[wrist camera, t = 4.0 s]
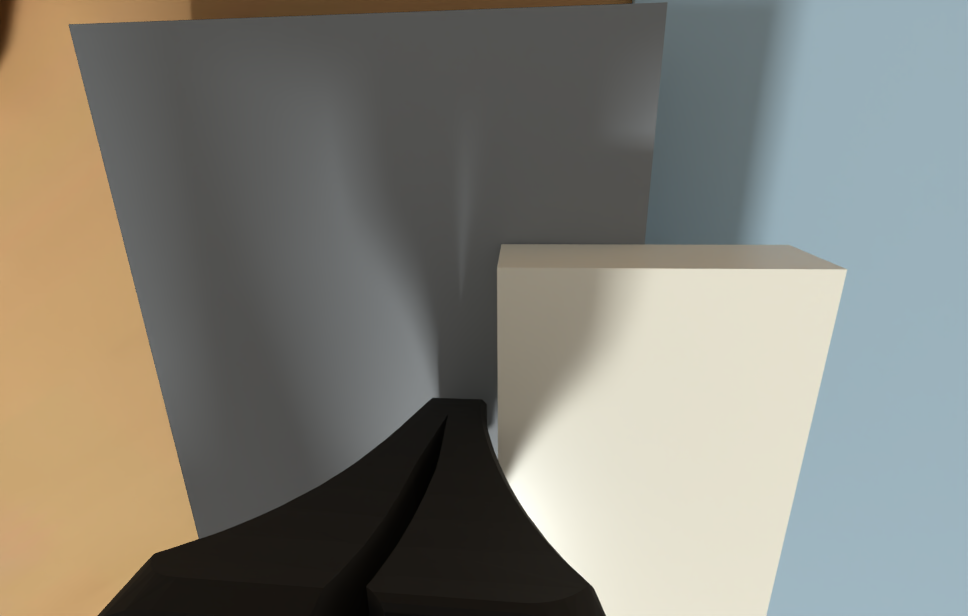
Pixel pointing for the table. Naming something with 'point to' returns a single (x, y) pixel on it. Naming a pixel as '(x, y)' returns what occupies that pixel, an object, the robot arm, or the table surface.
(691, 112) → the mat
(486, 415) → the robot arm
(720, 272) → the cream rectangular block
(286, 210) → the plate
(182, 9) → the table surface
